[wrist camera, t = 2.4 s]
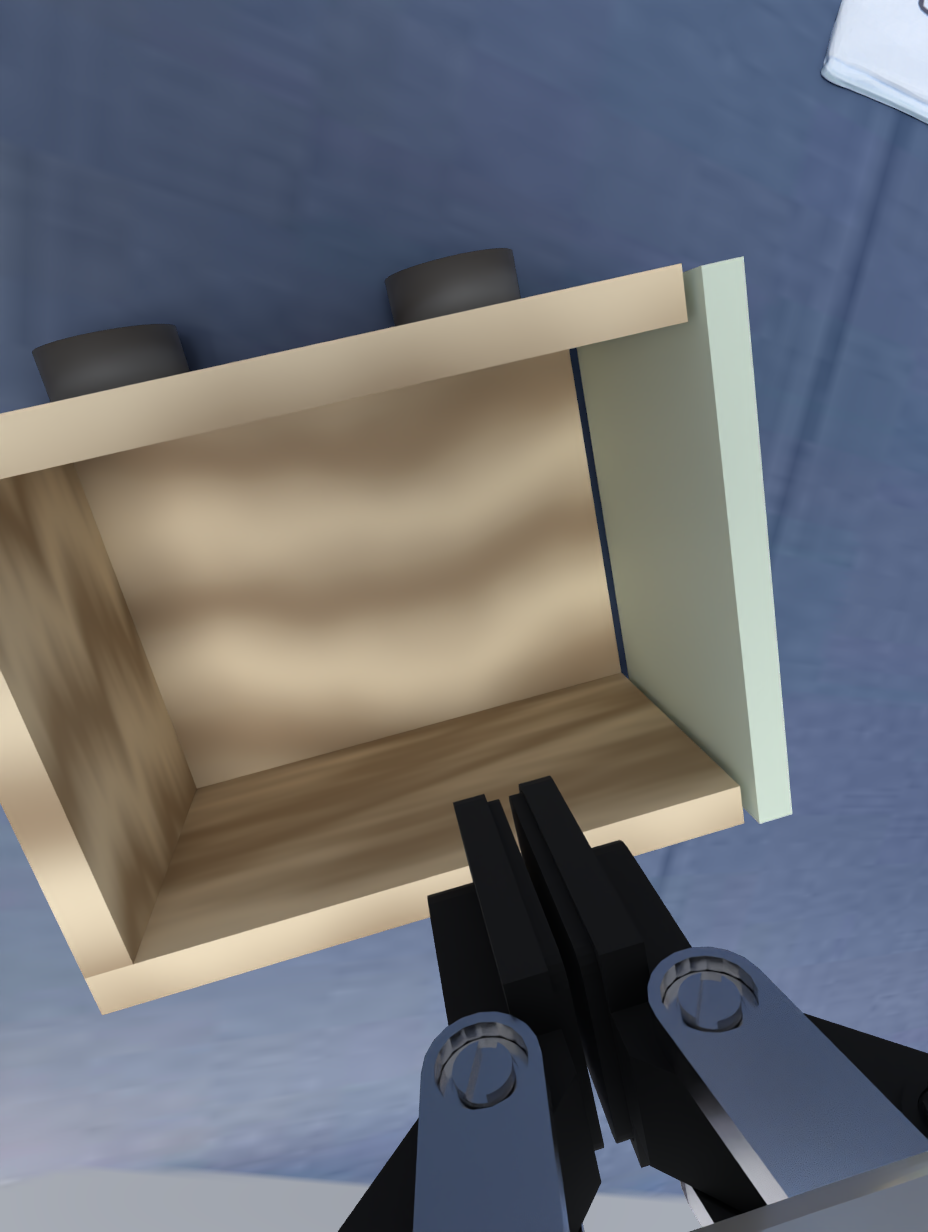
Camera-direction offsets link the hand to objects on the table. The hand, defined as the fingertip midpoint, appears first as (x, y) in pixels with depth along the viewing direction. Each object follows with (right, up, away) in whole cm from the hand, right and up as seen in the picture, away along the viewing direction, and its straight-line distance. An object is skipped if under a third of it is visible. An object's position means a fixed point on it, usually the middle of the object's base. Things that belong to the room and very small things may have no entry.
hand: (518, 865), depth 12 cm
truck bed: (-6, +6, +21) cm, 23 cm away
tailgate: (+6, +9, +21) cm, 23 cm away
